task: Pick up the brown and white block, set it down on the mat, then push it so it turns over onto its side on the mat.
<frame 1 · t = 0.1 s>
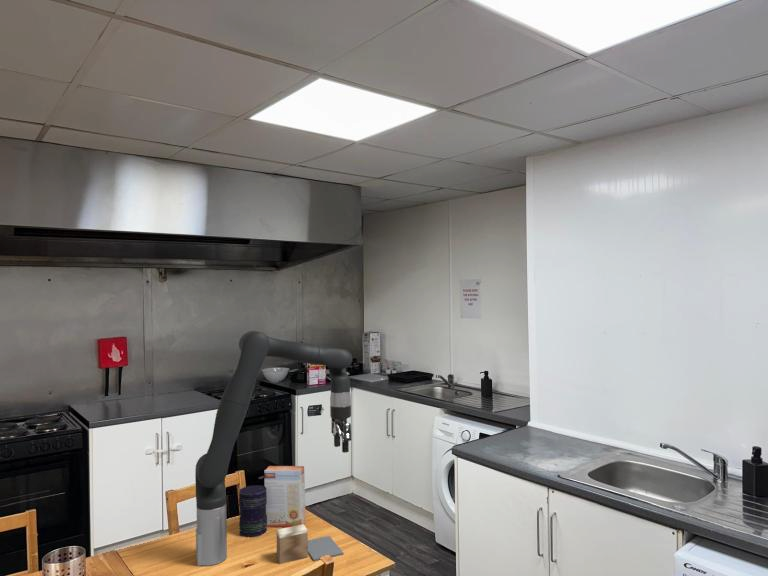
hand: (341, 449, 188), 29 cm above the table, tool pointing down, fingers open, 8 cm apart
brown and white block: (292, 557, 167), on the table
cracker box: (285, 524, 194), on the table
mat: (322, 548, 173), on the table
storage jar: (253, 532, 188), on the table
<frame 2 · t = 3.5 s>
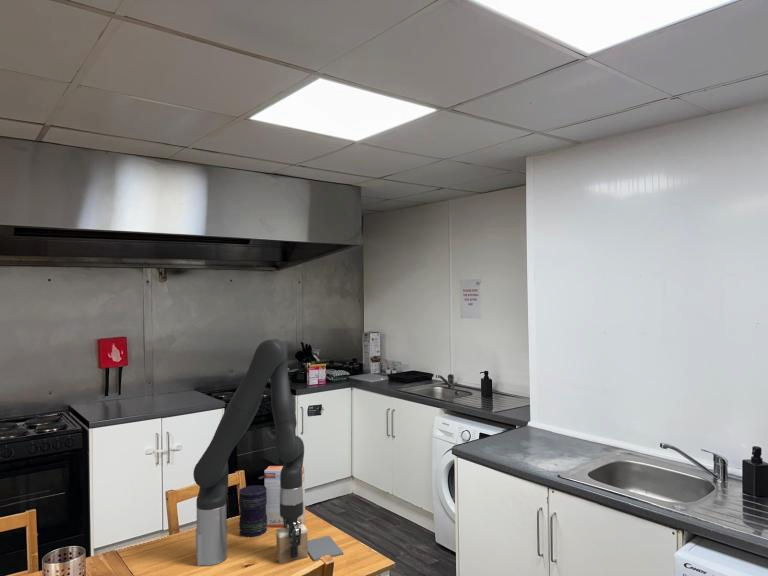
hand: (292, 553, 167), 1 cm above the table, tool pointing down, fingers closed on brown and white block, 4 cm apart
brown and white block: (292, 557, 167), on the table, touching gripper
everything else where it was.
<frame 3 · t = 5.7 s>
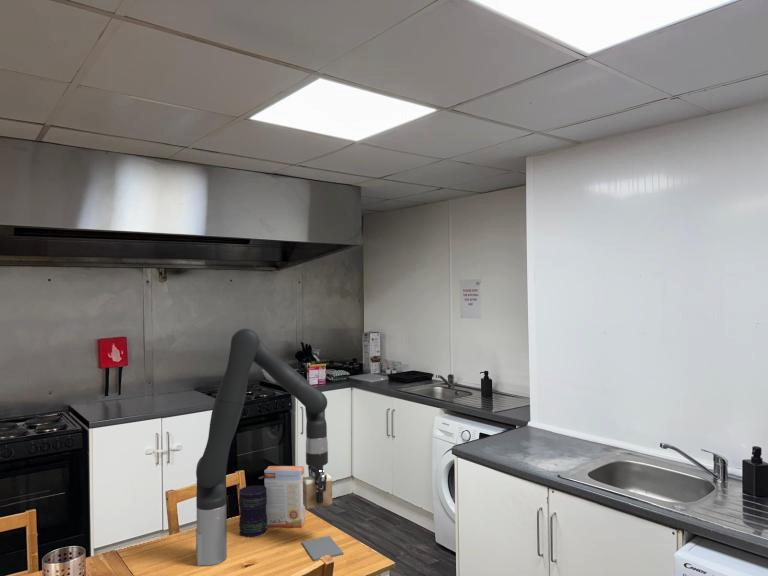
hand: (317, 500, 177), 15 cm above the table, tool pointing down, fingers closed on brown and white block, 4 cm apart
brown and white block: (317, 504, 177), point 13 cm above the table, touching gripper
everything else where it was.
when the fingers open (3 cm above the table, at t = 8.2 s): brown and white block stays where it is, resting on mat.
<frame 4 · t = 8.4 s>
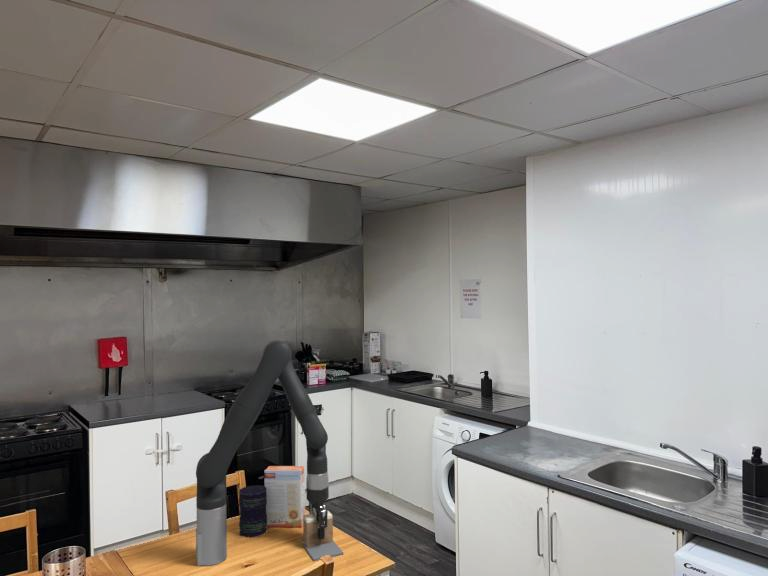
hand: (318, 534, 177), 3 cm above the table, tool pointing down, fingers open, 6 cm apart
brown and white block: (318, 542, 177), point 1 cm above the table, touching mat
everything else where it was.
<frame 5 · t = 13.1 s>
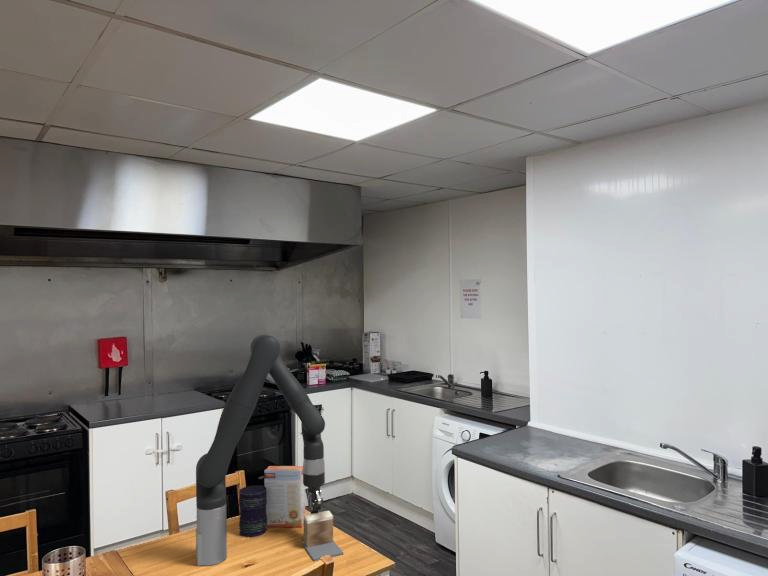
hand: (314, 520, 181), 6 cm above the table, tool pointing down, fingers closed
brown and white block: (318, 541, 177), point 1 cm above the table, touching gripper, mat
everything else where it was.
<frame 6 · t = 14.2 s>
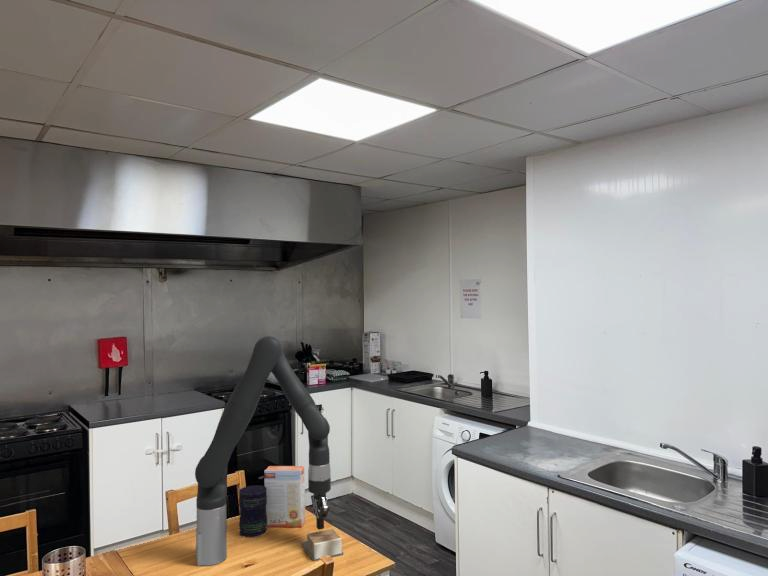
hand: (320, 528, 175), 6 cm above the table, tool pointing down, fingers closed
brown and white block: (320, 538, 175), point 3 cm above the table, tilted 90°, touching mat
everything else where it was.
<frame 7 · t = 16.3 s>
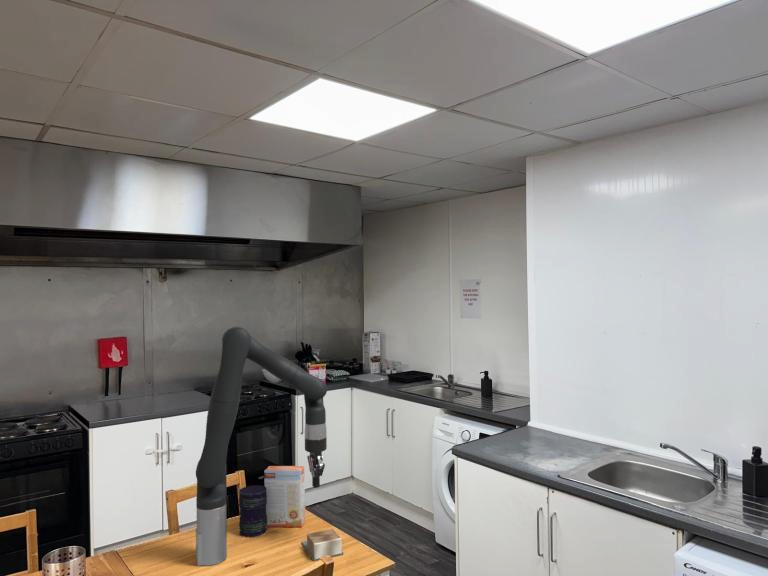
hand: (316, 486, 179), 19 cm above the table, tool pointing down, fingers closed
nothing on the table moved.
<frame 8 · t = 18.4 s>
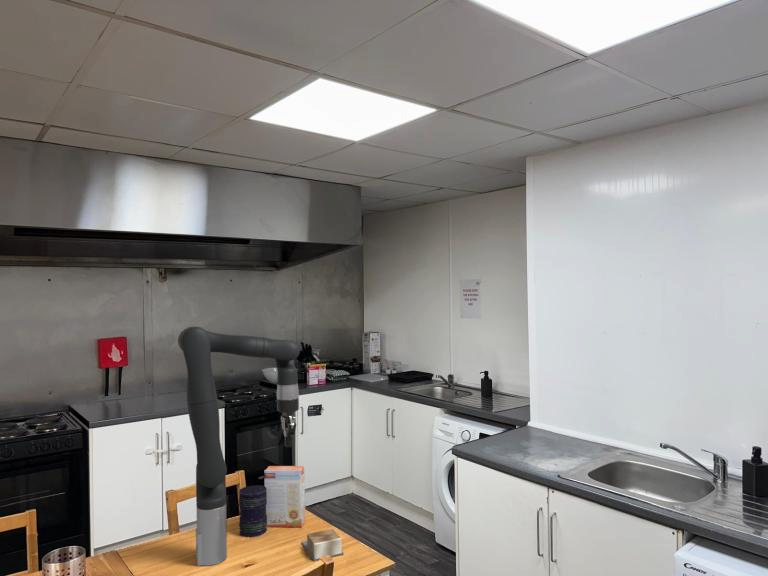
hand: (288, 446, 181), 32 cm above the table, tool pointing down, fingers closed
nothing on the table moved.
at the end: brown and white block tilted 90°; brown and white block inside the target area (4.3 cm from its centre), point 2.8 cm above the table; the gripper is holding nothing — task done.
